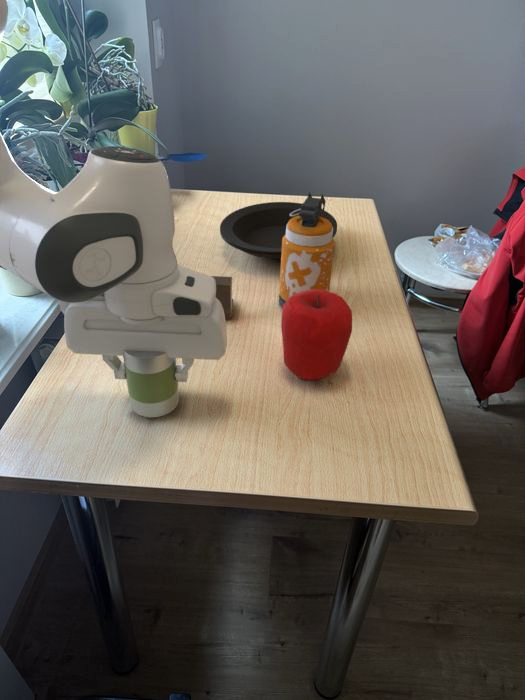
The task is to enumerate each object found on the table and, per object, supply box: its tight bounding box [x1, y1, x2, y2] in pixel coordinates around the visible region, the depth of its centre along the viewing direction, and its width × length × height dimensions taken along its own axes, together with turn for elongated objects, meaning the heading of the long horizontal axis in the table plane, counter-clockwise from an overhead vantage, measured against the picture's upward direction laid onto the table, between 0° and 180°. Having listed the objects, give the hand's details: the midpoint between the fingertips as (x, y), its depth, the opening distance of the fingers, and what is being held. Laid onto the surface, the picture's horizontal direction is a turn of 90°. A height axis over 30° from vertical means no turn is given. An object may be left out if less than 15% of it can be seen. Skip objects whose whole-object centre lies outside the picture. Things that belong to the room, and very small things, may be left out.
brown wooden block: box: [211, 275, 234, 321], centre depth 93 cm, size 18×6×7 cm, turn 88°
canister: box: [278, 192, 336, 308], centre depth 92 cm, size 9×11×20 cm
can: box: [122, 350, 180, 418], centre depth 71 cm, size 7×7×10 cm
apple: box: [280, 289, 353, 381], centre depth 77 cm, size 10×10×14 cm
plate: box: [219, 201, 338, 260], centre depth 115 cm, size 28×24×6 cm
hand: (152, 377), depth 71 cm, fingers closed on can, 7 cm apart
